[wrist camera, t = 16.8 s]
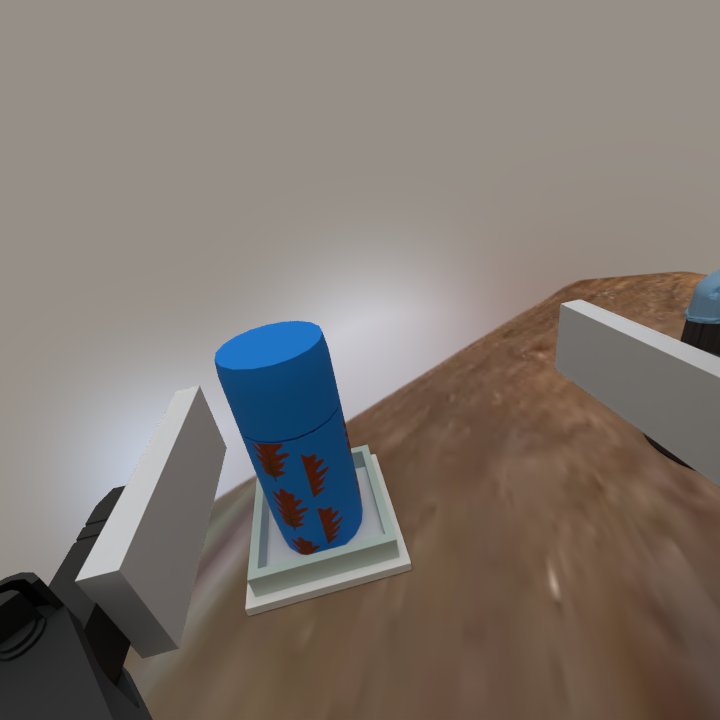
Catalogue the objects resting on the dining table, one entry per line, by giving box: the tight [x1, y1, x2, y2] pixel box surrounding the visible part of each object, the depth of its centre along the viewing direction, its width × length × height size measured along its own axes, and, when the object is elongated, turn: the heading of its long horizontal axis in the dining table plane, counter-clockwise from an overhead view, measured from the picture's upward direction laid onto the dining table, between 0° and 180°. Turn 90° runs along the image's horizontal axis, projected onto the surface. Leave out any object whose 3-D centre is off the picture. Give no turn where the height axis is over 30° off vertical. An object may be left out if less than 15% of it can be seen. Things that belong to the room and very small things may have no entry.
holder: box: [245, 445, 412, 616], centre depth 47 cm, size 18×18×4 cm
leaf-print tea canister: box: [215, 321, 363, 555], centre depth 41 cm, size 11×11×25 cm
